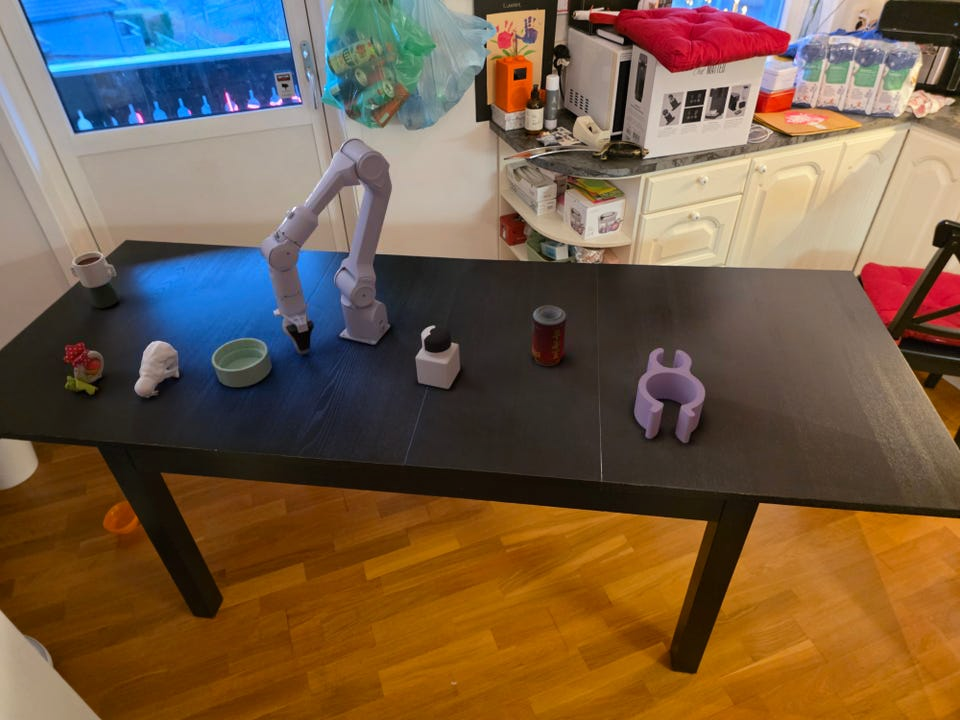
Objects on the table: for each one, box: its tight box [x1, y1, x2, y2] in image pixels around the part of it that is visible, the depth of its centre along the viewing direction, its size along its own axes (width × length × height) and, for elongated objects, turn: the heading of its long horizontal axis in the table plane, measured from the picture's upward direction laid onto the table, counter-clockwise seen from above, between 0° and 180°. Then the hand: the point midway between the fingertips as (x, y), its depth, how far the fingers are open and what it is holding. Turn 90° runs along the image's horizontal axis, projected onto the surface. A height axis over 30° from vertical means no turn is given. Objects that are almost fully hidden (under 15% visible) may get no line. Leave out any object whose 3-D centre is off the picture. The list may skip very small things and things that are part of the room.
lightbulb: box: [281, 315, 311, 355], centre depth 146 cm, size 6×6×11 cm
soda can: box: [531, 304, 567, 367], centre depth 142 cm, size 7×7×12 cm
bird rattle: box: [62, 342, 105, 395], centre depth 140 cm, size 6×11×9 cm
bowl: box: [211, 337, 273, 388], centre depth 143 cm, size 12×12×5 cm
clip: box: [633, 347, 706, 444], centre depth 131 cm, size 20×12×7 cm, turn 169°
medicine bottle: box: [415, 324, 461, 390], centre depth 138 cm, size 7×7×12 cm
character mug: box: [69, 251, 121, 309], centre depth 164 cm, size 11×7×13 cm, turn 88°
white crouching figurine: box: [134, 340, 180, 399], centre depth 140 cm, size 6×8×12 cm
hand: (300, 341), depth 148 cm, fingers closed on lightbulb, 6 cm apart
